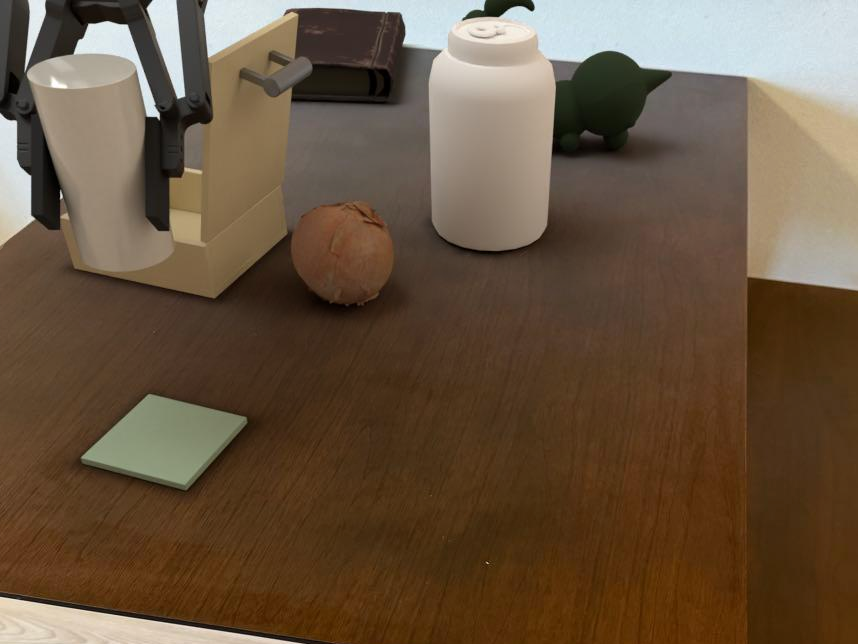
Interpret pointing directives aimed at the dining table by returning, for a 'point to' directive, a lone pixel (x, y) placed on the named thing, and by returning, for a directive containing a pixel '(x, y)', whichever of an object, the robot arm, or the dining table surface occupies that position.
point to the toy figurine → (593, 91)
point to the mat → (165, 441)
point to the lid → (248, 122)
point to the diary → (348, 53)
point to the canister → (100, 157)
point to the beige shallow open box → (195, 260)
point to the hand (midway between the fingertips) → (102, 222)
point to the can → (491, 135)
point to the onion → (343, 252)
